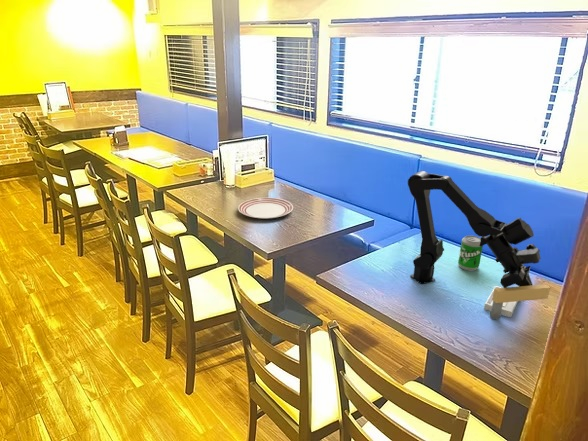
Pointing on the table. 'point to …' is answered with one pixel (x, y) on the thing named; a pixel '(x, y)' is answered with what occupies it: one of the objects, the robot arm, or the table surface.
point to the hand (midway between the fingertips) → (533, 292)
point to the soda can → (470, 253)
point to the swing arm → (516, 296)
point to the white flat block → (506, 308)
